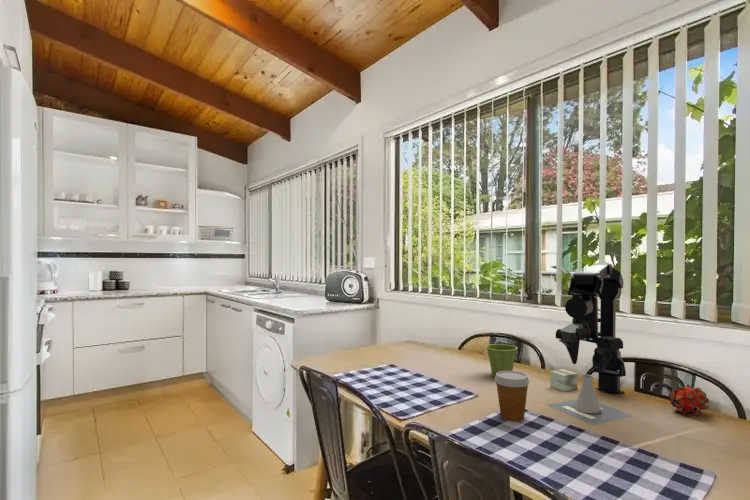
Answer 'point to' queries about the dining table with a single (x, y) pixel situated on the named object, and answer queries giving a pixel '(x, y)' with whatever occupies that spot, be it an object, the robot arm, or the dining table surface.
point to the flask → (587, 397)
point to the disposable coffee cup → (512, 394)
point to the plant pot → (501, 357)
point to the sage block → (563, 380)
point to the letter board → (593, 419)
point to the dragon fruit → (689, 399)
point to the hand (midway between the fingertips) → (587, 367)
